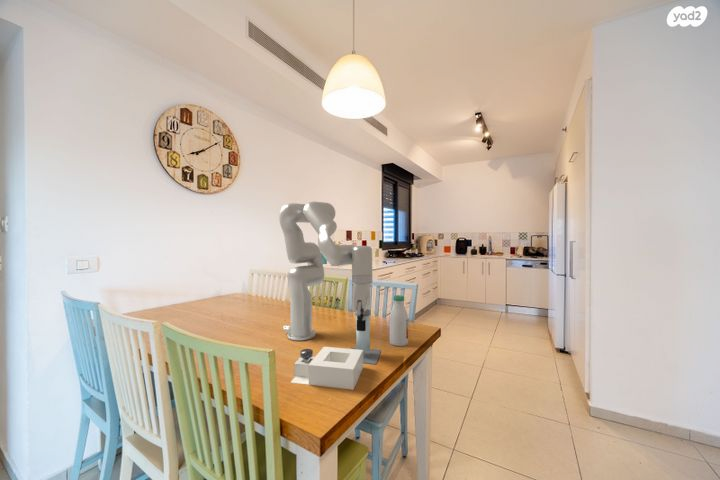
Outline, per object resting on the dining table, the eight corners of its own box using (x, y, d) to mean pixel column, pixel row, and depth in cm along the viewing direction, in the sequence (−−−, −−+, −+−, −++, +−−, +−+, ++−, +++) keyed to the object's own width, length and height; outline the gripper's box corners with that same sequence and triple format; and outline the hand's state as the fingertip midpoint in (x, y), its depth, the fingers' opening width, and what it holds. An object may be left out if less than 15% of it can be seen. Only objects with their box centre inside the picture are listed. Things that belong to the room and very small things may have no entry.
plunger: (298, 373, 93) (298, 353, 93) (303, 367, 97) (303, 348, 97) (310, 374, 92) (309, 354, 92) (314, 368, 96) (314, 349, 96)
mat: (342, 364, 102) (342, 360, 102) (351, 350, 114) (351, 347, 114) (376, 367, 100) (376, 363, 100) (381, 352, 111) (381, 349, 111)
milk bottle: (403, 348, 116) (403, 299, 115) (386, 344, 120) (386, 296, 119) (410, 342, 122) (410, 295, 122) (394, 338, 126) (394, 293, 126)
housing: (288, 385, 88) (288, 362, 88) (306, 364, 102) (306, 345, 102) (353, 392, 84) (353, 369, 84) (363, 370, 98) (363, 349, 97)
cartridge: (363, 353, 103) (363, 313, 102) (352, 349, 106) (352, 311, 106) (373, 348, 107) (373, 310, 106) (362, 344, 111) (362, 307, 110)
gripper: (357, 275, 115) (357, 320, 116) (346, 283, 98) (347, 335, 99) (375, 276, 113) (376, 321, 114) (367, 283, 97) (368, 337, 97)
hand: (362, 327), depth 106 cm, fingers closed on cartridge, 5 cm apart
